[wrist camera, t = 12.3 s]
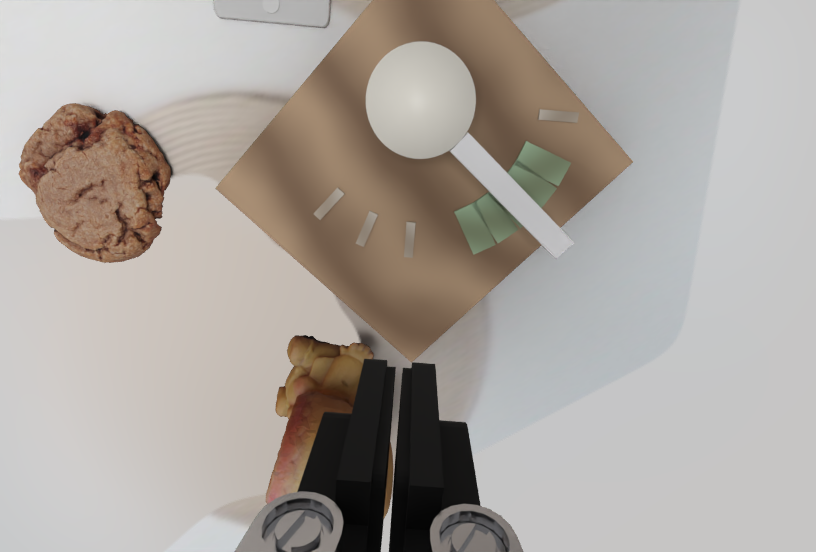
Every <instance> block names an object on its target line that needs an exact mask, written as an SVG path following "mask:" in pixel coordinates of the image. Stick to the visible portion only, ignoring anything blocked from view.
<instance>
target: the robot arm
mask: <svg viewBox="0 0 816 552" xmlns="http://www.w3.org/2000/svg"><path fill="white" fill-rule="evenodd" d="M395 369H396V367H387V360H375V359H364V362H363V366H362V371H361V375H360V379H359V384H358V388H357V392H356V397H355V401H354V405H353V409H352V414H351V413H338V412H324V414H323V416H322V419H321V422H320V425H319V428H318V431H317V434H316V437H315V440H314V443H313V446H312V449H311V452H310V455H309V458H308V461H307V464H306V467H305V470H304V473H303V476H302V479H301V482H300V485H299V488H298V491H297V492H294V493H288V494H286V495H283V496H281V497H278V498H276V499H274V500H273V501H271V502H270V503H269V504H267V505H266V506H264V508H263V509H262V510H261V511H260V512H259V514H258V515H257V516H256V517H255V519H254V521H253V522H252V524H251V526H250V527H249V529H248V531H247V532H246V534H245V535H244V537H243V539H242V540H241V542H240V544H239V545H238V547H237V548H236V550H235V552H381V541H382V530H383V519H384V508H385V496H386V485H387V474H388V461H389V448H390V435H391V422H392V409H393V395H394V382H395ZM389 552H523V549H522V547H521V545H520V542H519V540H518V537H517V535H516V534H515V532H514V530H513V529H512V527H511V526H510V524H509V523H508V522H507V521H505V519H503V518H502V517H501V516H500V515H498V514H497V513H495V512H493V511H492V510H490V509H487V508H485V507H481V506H480V501H479V495H478V488H477V482H476V476H475V469H474V463H473V458H472V451H471V445H470V439H469V433H468V427H467V424H466V423H465V422H453V421H441V420H439V411H438V397H437V383H436V369H435V364H426V363H413V362H412V368H403V373H402V385H401V397H400V409H399V422H398V434H397V446H396V459H395V471H394V485H393V500H392V515H391V529H390V544H389Z"/></svg>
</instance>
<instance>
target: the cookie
mask: <svg viewBox="0 0 816 552" xmlns="http://www.w3.org/2000/svg"><path fill="white" fill-rule="evenodd" d="M19 167H20V169H21V170H20V172H19V175H20V178H21V180H22V181H23V182H24V183H25V184H26V185H27V186H28V187H29V188H30V189H31V190H32V191H33V192H34V193H35V195H36V204H37V205H38V207H39V209H40V212H41V214H42V216H43V218H44V220H45V221H46V222H47V224H48V225H49V226H50V227H51V228H54V229H55V230H54V234H55V236H56V238H57V239H58V241H59V242H61V243H62V244H63V245H65V246H66V247H67V248H69V249H70V250H71V251H73V252H75V253H77V254H78V255H80V256H83V257H86V258H88V259H92V260H96V261H100V262H105V263H106V262H109V263H111V262H122V261H125V260H129V259H132V258H135V257H138V256H140V255H141V254H142V253H144V252H145V251H146V250H147V249H149V248H150V246H151V244H152V243H153V240H154V238H156V237H157V236H158V235H159V234H160V231H161V228H162V227H160V226H159V225H158V224H157V221H156V220H155V219H156V218H162V207H163V206H162V202H163V200H164V197H163V195H164V190H166V188H167V187H168V185H169V183H170V177H171V169H170V166H169V165H168V164H167V162H166V161H165V159H164V156H163V154H162V153H161V152H160V151H159V149H158V147H157V146H156V144H155V143H154V141H153V139H152V138H151V137H150V136H149V135H148V133H147V132H146V130H144V129H143V128H141V127H140V126H139V125H135V124H133V121H132V120H131V119H129V118H128V117H126V115H125V113H122V112H119V111H116V110H115V111H112V112H110V113H108V114H106V113H105V114H102V113H100V112H99V111H97V110H96V109H94V108H91V107H88V106H84V105H80V104H76V103H73V104H67V105H64V106H62V107H61V108H60V109H59V110H57V112H56V113H55V114H54V115H53V116H52V117H51V118H50V119H49V120H48V121H47V122H46V123H45V124H44V125H43V127H42V128H38V129H37V130H36V131H35V133H34V134H33V135H32V136H31V137H30V139H29V140H28V141H27V143H26V144H25V146H24V149H23V152H22V155H21V162H20V164H19Z"/></svg>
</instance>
